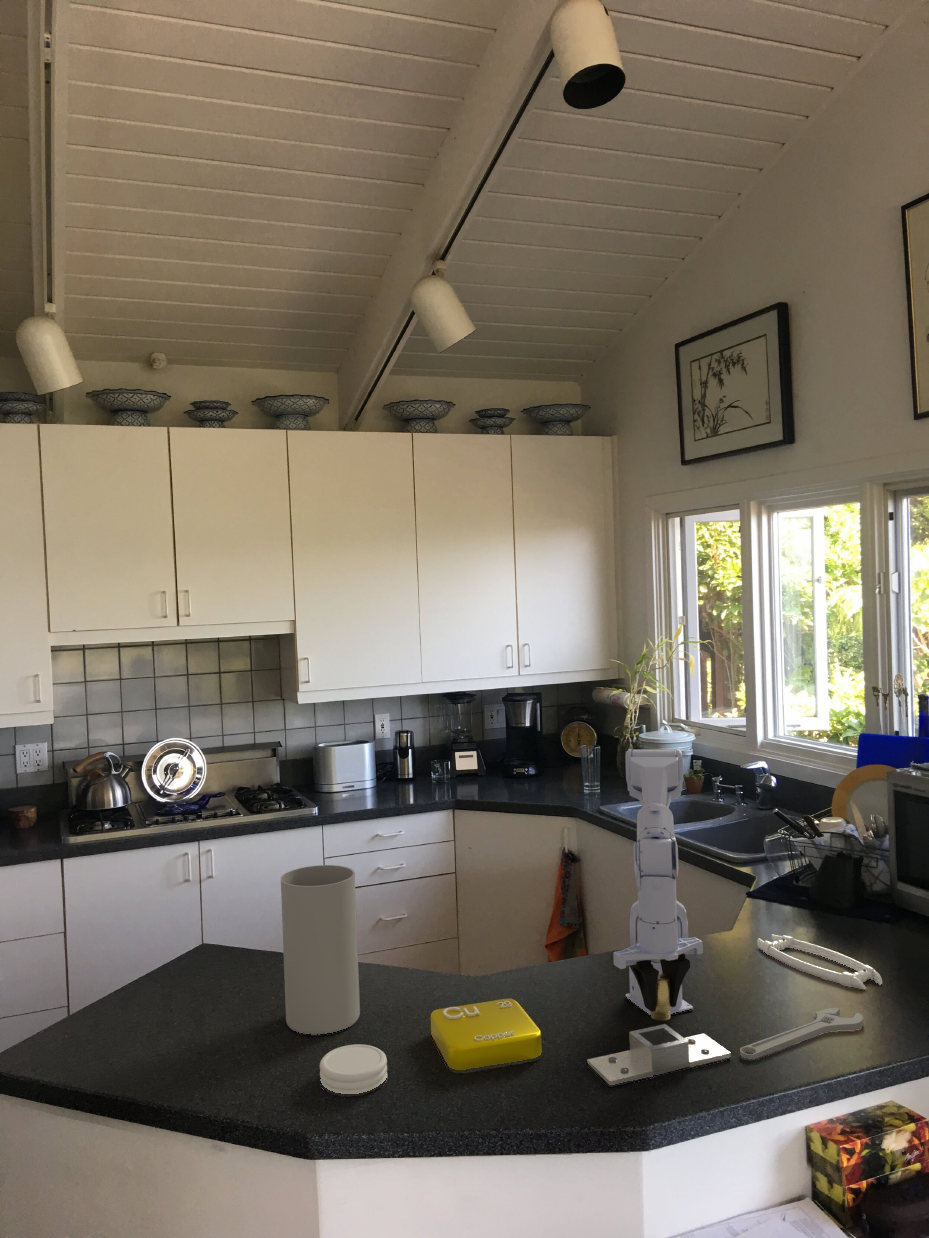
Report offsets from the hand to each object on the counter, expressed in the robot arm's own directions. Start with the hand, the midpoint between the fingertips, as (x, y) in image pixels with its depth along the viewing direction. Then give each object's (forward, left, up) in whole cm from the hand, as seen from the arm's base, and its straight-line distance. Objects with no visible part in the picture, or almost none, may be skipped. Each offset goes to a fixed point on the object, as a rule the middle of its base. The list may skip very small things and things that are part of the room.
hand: (660, 1006), depth 144 cm
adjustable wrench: (+2, +24, -9) cm, 26 cm away
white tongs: (-20, +46, -9) cm, 51 cm away
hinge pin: (0, 0, -2) cm, 2 cm away
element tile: (-16, -23, -9) cm, 29 cm away
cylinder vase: (-36, -44, -9) cm, 58 cm away
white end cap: (-14, -44, -9) cm, 48 cm away
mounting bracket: (0, 0, -8) cm, 8 cm away
